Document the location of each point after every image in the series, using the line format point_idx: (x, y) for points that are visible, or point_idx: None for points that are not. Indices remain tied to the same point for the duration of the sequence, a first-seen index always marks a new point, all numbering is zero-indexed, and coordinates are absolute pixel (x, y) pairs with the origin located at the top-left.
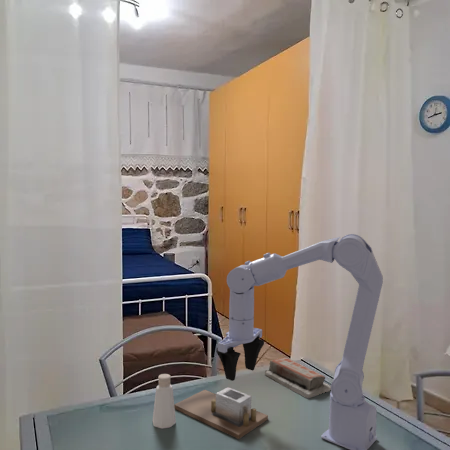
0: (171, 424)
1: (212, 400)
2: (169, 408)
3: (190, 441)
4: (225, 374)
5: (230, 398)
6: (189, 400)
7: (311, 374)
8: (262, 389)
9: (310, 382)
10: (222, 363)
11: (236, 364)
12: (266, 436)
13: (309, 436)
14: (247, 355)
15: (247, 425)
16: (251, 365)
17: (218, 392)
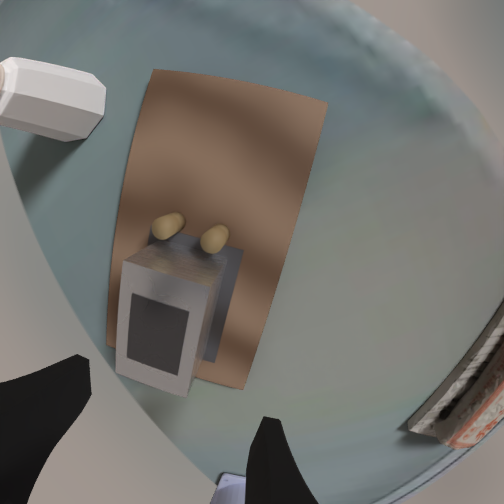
0: (65, 140)
1: (160, 222)
2: (30, 132)
3: (45, 230)
4: (61, 363)
5: (121, 334)
6: (207, 94)
7: (475, 433)
8: (439, 302)
9: (439, 441)
10: (5, 384)
11: (42, 459)
12: (163, 393)
13: (220, 458)
14: (260, 490)
15: None
16: (250, 463)
17: (134, 268)
